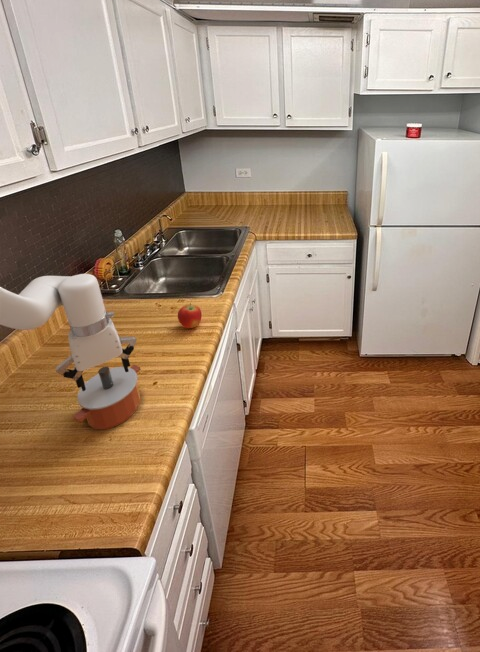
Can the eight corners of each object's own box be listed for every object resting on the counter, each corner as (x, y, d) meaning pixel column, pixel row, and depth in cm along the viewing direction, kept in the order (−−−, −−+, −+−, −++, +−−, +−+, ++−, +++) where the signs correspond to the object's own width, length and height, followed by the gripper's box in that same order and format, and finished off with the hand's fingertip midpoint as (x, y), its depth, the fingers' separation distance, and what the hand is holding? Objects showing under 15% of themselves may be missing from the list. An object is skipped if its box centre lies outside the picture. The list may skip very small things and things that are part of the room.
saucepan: (65, 429, 84) (57, 407, 82) (125, 377, 100) (120, 358, 97) (101, 445, 80) (94, 424, 78) (158, 389, 96) (153, 369, 93)
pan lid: (65, 401, 84) (58, 382, 81) (112, 364, 96) (107, 346, 93) (105, 418, 80) (98, 398, 77) (149, 377, 91) (145, 358, 89)
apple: (184, 319, 126) (180, 297, 123) (205, 319, 127) (202, 296, 123) (176, 333, 119) (172, 310, 115) (199, 332, 119) (195, 309, 116)
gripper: (125, 303, 88) (138, 354, 94) (43, 330, 77) (63, 386, 84) (132, 317, 82) (145, 370, 89) (45, 347, 72) (66, 405, 78)
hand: (105, 377), depth 86 cm, fingers open, 9 cm apart
